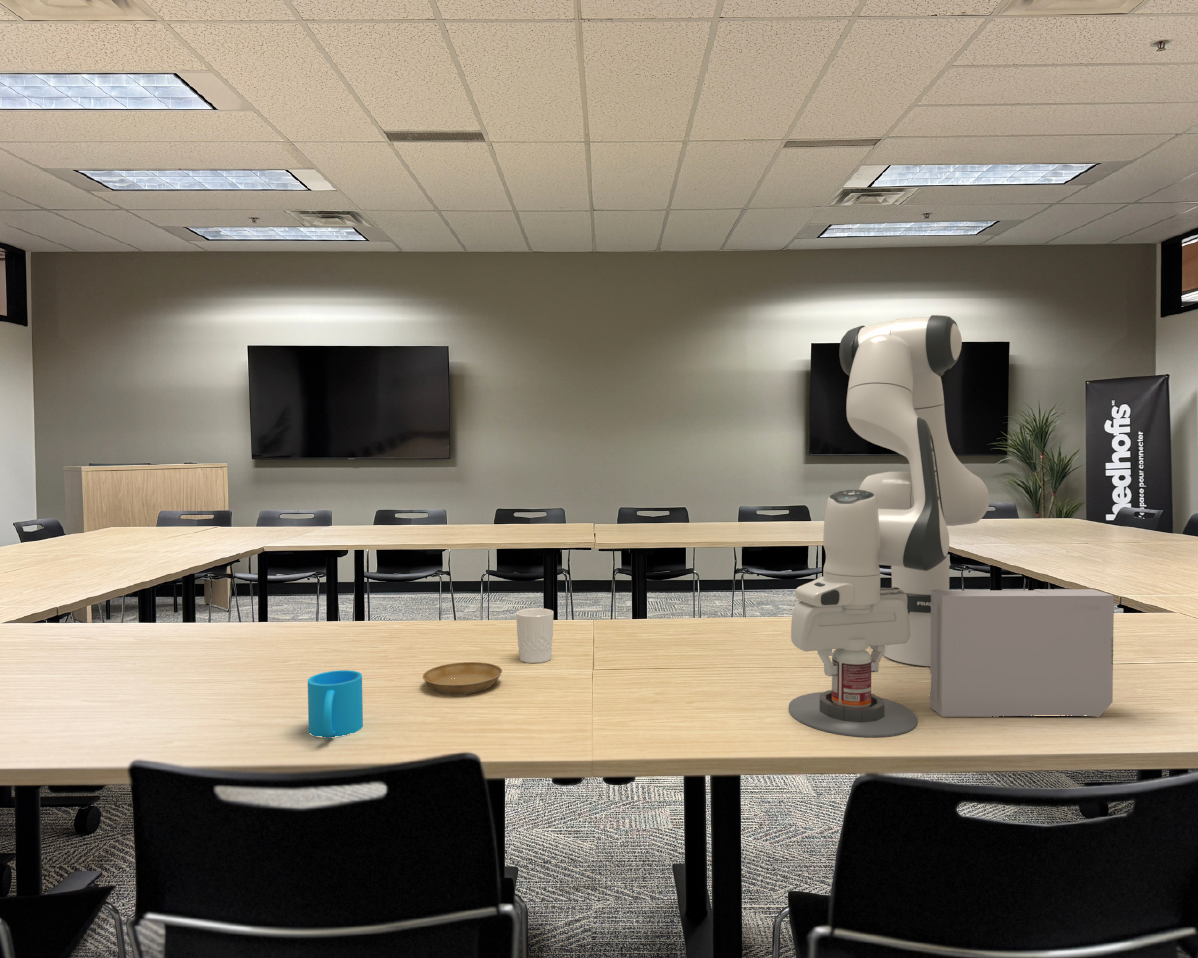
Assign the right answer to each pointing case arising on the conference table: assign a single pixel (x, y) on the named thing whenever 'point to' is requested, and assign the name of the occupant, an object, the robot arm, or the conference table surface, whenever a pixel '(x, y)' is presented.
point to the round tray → (855, 729)
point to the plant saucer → (462, 677)
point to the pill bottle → (852, 675)
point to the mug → (335, 703)
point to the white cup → (535, 634)
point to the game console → (1021, 652)
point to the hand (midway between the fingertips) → (851, 673)
